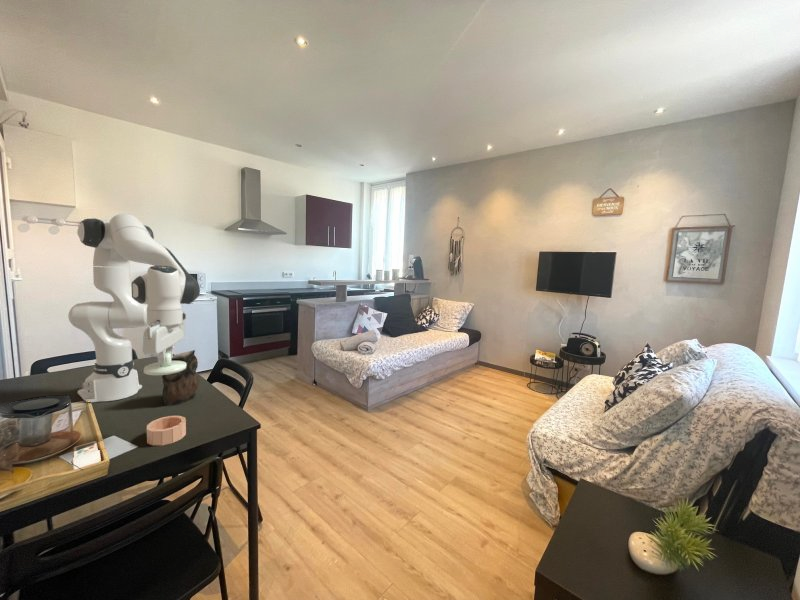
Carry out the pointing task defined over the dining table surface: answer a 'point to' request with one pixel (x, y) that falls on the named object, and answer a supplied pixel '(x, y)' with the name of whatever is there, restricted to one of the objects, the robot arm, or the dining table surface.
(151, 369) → the lid
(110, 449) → the mat
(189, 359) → the owl
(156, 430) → the bowl
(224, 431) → the dining table surface
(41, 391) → the dining table surface
